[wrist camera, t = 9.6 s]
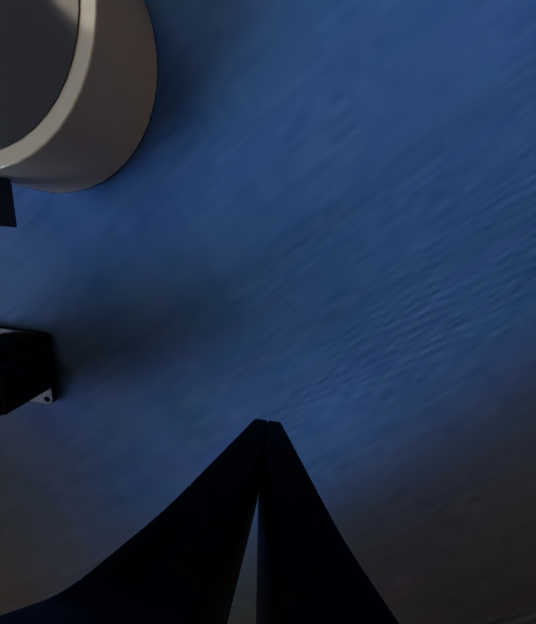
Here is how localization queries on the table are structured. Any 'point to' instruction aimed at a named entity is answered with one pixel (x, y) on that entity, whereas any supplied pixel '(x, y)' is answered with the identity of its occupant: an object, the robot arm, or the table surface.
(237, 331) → the table surface
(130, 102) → the pot
